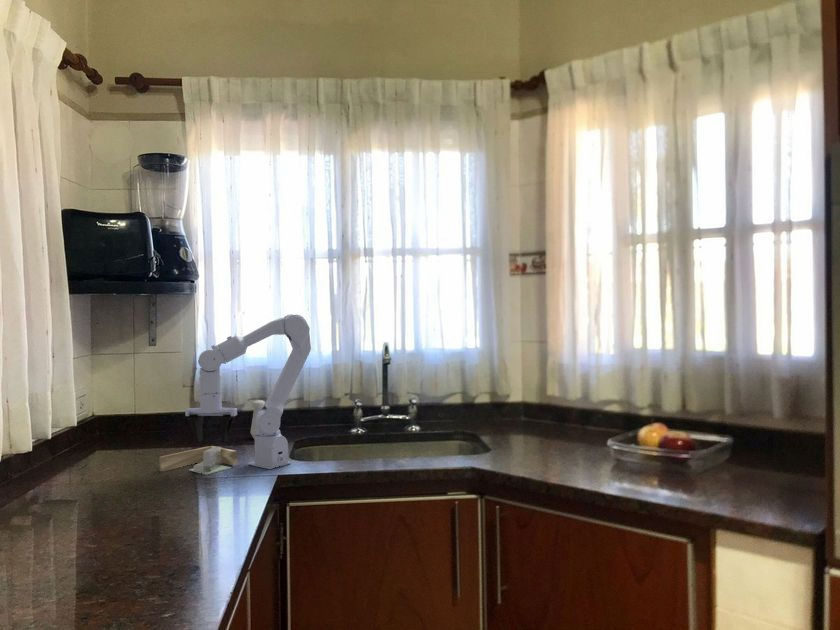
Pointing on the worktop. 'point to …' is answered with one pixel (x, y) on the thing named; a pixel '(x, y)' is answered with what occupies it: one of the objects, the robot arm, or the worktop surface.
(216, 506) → the worktop surface
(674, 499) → the worktop surface
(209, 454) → the bracket
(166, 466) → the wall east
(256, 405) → the salt shaker
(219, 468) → the pad
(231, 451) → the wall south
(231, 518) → the worktop surface
